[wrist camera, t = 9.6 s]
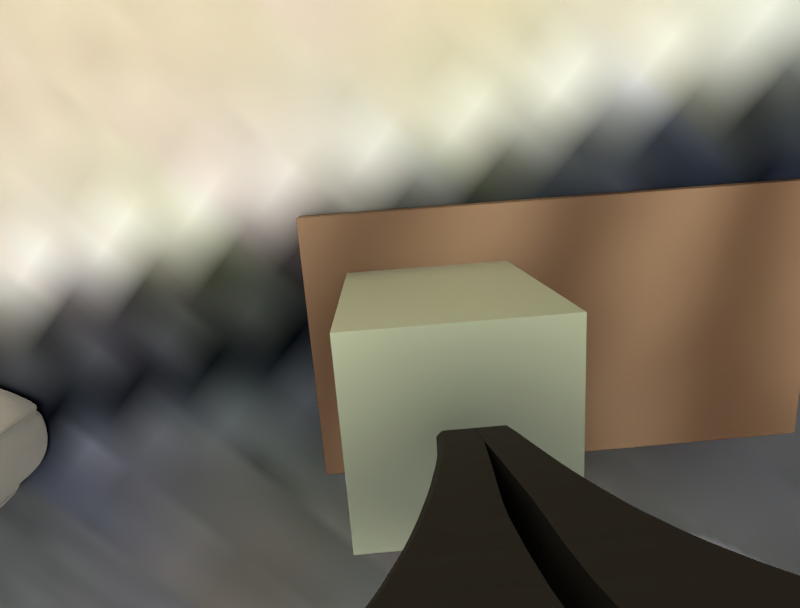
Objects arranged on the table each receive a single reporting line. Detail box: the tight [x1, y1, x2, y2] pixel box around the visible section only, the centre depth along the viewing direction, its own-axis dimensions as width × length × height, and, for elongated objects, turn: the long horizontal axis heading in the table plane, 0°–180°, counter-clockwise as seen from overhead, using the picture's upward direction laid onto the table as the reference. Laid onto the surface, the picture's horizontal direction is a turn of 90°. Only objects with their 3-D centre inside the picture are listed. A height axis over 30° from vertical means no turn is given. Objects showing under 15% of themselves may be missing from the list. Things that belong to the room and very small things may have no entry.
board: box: [296, 179, 800, 475], centre depth 18 cm, size 17×9×1 cm, turn 94°
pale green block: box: [330, 261, 587, 555], centre depth 14 cm, size 5×5×7 cm
